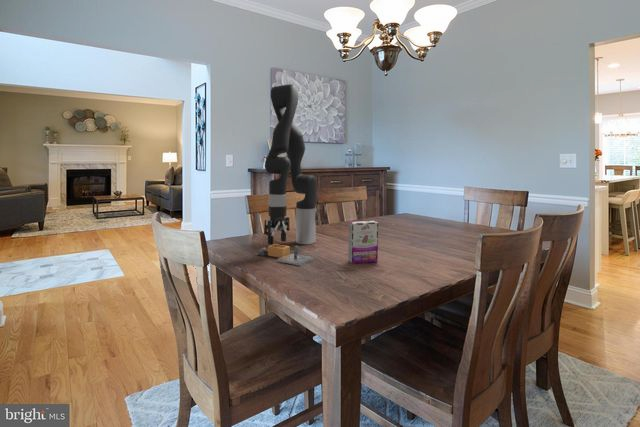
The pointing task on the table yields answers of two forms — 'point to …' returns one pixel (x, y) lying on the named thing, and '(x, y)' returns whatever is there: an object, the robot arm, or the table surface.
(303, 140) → the robot arm
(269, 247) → the orange link
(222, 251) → the table surface
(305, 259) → the plate
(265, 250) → the grey knob block
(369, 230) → the candy bar box
